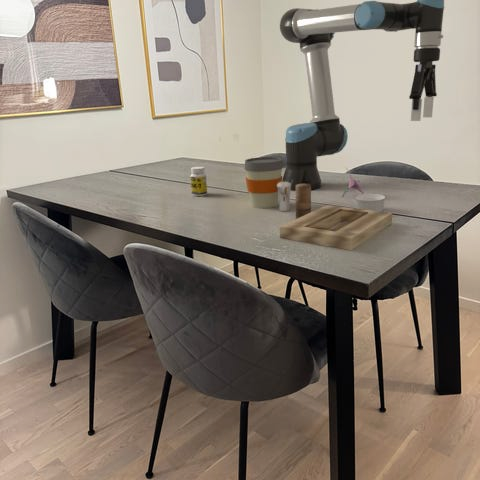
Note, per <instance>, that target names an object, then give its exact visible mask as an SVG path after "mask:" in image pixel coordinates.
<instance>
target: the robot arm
mask: <svg viewBox="0 0 480 480" xmlns="http://www.w3.org/2000/svg"><path fill="white" fill-rule="evenodd" d="M444 9H445V0H416V1H414V2H409V3H395V2H394V3H392V2H382V1H377V0H369V1H363V2H361V3H357V4H350V5H343V6H342V5H341V6H336V7H328V8H322V9H321V8H320V9H319V8H318V9H311V8H310V9H309V8H290V9H289V10H286V11H285V13H283V15H282V16H281V18H280V21H279V30H280V33H281V35H282V37H283V38H284V39H285V40H286V41H288V42H290V43H295V44H299V51H300V52H301V53H303V54H304V57H305V65H306V74H307V82H308V89H309V90H308V91H309V99H310V105H311V113H312V119H311V120H310V121H309V122H305V123H297V124H294V125H293V124H292V125H290V126H289V127H287V129H286V130H285V139H284V140H285V162H286V163H285V170H284V174H283V175H282V182H289V183H290V184H291V191H296V185H297V184H310V185H311V190H317V189H319V188H321V187H322V179H321V176H320V173H319V170H318V165H317V163H318V160H317V159H318V157H325V156H331V155H335V154H338V153H340V152H341V151H343V150H344V148H345V147H346V145H347V143H348V130H347V129H346V127H345V126H344V125H343V124H342V123H341V121H340V117H339V116H338V115H337V114H336V113H335V103H334V96H333V94H334V93H333V86H332V78H331V69H330V62H329V61H330V60H329V53H328V51H329V49H330V47H331V46H332V40H333V39H334V37H335V36H334V34H336V33H344V32H345V33H346V32H355V31H356V32H357V31H368V30H369V31H370V30H383V31H385V32H390V33H391V32H393V33H396V32H398V31H405V30H412V29H413V30H414V29H415V34H414V43H413V44H414V48H415V49H414V50H413V62H414V63H419V64H415V68H414V69H415V70H414V75H413V81H412V85H411V90H410V94H409V97H408V99H409V100H411V111H410V112H411V114H410V121H411V122H420V121H421V119H422V118H433V108H434V99H435V98H434V97H437V95H438V94H437V86H436V85H437V84H436V64H433V63H434V62H438V61H439V60H440V58H441V57H440V56H441V48H440V46H441V43H442V39H443V38H444V34H442V29H443V20H444V19H443V18H444ZM423 92H424V94H425V96H424V98H422V96H423ZM423 99H424V100H423ZM422 103H423V104H422ZM422 105H423V112H422ZM421 115H422V118H421ZM292 180H293V181H292ZM291 182H292V183H291Z"/></svg>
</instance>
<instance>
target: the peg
mask: <svg viewBox="0 0 480 480" xmlns="http://www.w3.org/2000/svg"><path fill="white" fill-rule="evenodd" d="M311 212H312V189H311V185H310V184H297V185H296V190H295V219H298V218H300V217H302V216H304V215H306V214H308V213H311Z"/></svg>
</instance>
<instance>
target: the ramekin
mask: <svg viewBox="0 0 480 480" xmlns="http://www.w3.org/2000/svg"><path fill="white" fill-rule="evenodd" d="M385 200H386V196H385V195H383V194H377V193H364V194H362V193H361V194H358V195H356V196H355V204H356V207H355V208H356V209H363V210H372V211H380V212H384V208H385V202H386V201H385Z"/></svg>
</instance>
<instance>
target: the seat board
mask: <svg viewBox="0 0 480 480" xmlns="http://www.w3.org/2000/svg"><path fill="white" fill-rule="evenodd" d="M340 222H344V223H342V224H340V225H339V226H336V227H334V228H330V227H332V226H334V225H337V224H338V223H340ZM392 223H393V212H387V211H382V212H380V211H372V210H363V209H357V208H356V207H355V208H353V207H346V206H339V205H329V204H326V205H324V206H322V207H320V208H317V209H315V210H313V211H311V213H308V214H306V215H304V216H302V217H300V218H298V219H296V218H295V219H294V220H291V221H289V222H287V223H285V224H283V225H279V238H280V239H285V240H290V241H295V242H296V241H297V242H303V243H308V244H314V245H319V246H325V247H326V246H327V247H331V248H337V249H340V250H341V249H342V250H349V251H353V250H354V249H355V248H357V247H359V246H360V245H361V244H363V243H365V242H367V241H369V239H371V238H373V237H374V236H375V235H377V234H379V233H380V232H381V231H383V230H385V229H386V228H387V227H389V226H390V225H392Z"/></svg>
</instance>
